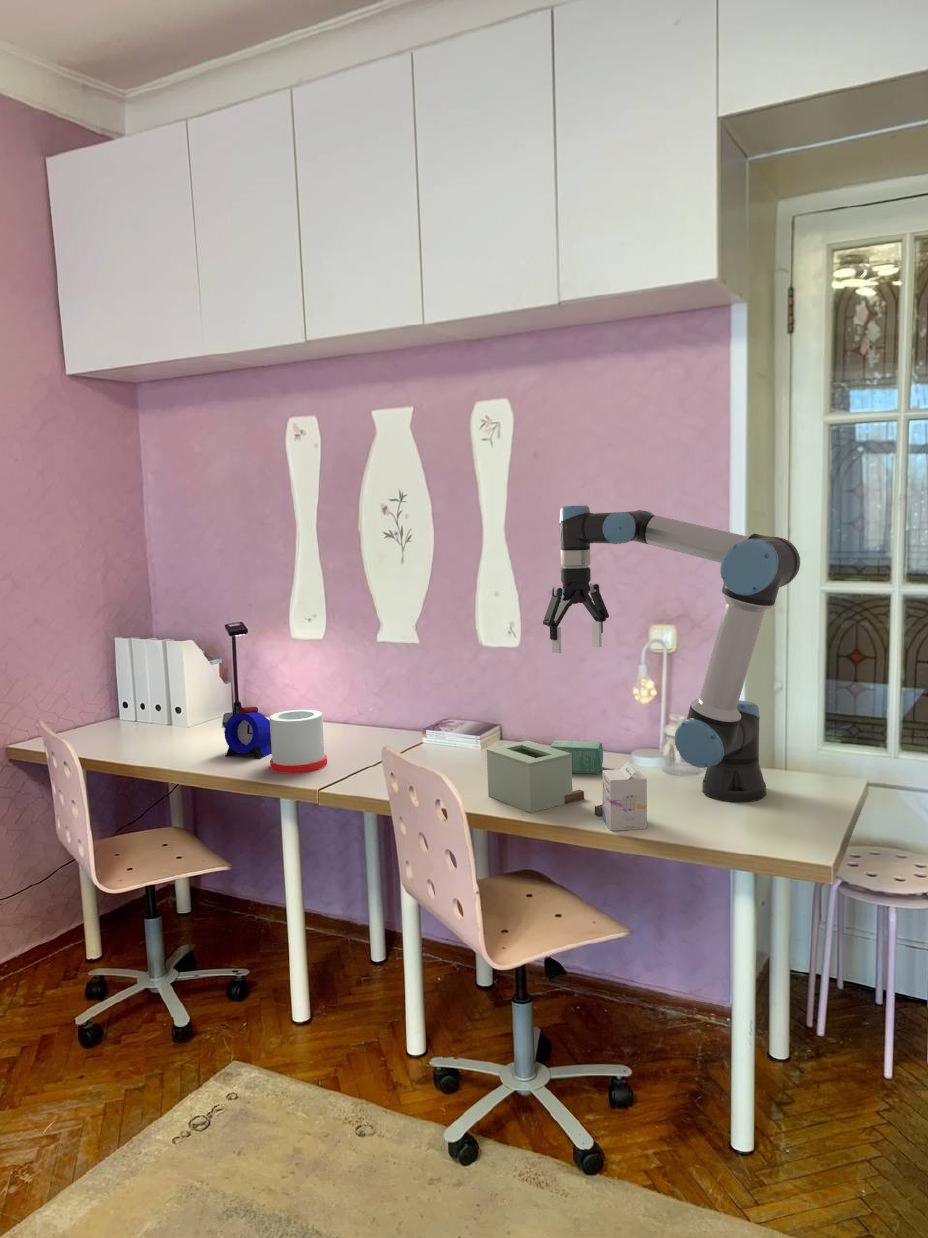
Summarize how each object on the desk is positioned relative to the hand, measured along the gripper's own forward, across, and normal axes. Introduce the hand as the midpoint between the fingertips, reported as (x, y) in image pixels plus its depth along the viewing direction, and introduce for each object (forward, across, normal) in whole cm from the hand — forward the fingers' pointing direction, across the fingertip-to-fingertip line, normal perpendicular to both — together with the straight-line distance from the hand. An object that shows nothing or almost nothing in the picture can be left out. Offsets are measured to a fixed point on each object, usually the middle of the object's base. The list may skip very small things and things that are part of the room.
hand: (577, 649), depth 243 cm
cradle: (+35, +12, +17) cm, 40 cm away
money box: (+35, +19, +3) cm, 40 cm away
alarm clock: (+35, +55, -86) cm, 108 cm away
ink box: (+35, +14, +31) cm, 49 cm away
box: (+35, -6, -8) cm, 37 cm away
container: (+35, +50, -64) cm, 88 cm away
